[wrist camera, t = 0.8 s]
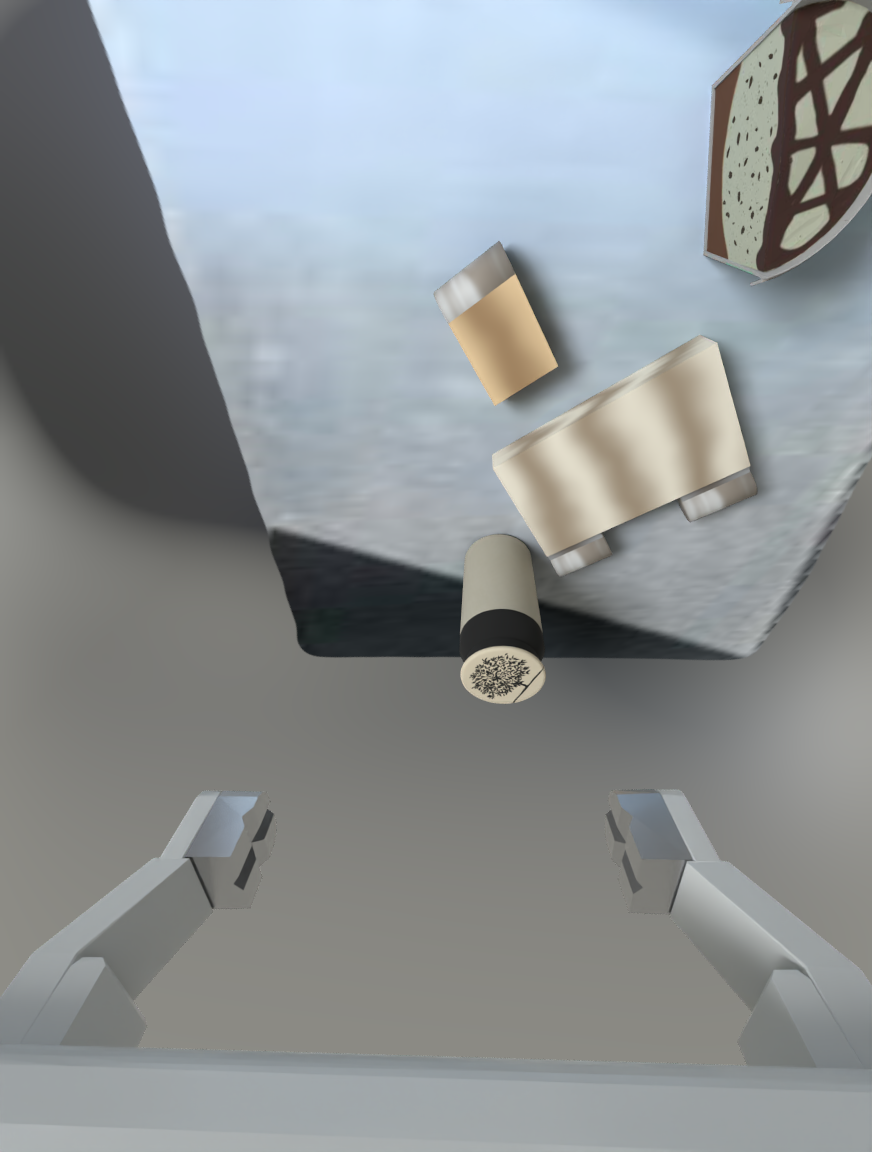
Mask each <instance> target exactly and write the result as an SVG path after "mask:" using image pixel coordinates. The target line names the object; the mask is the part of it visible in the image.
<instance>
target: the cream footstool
mask: <svg viewBox="0 0 872 1152" xmlns="http://www.w3.org/2000/svg"><path fill="white" fill-rule="evenodd" d="M492 459H493V470H494V471H495V473H496V475H497V476H498V478H499V479H500V481H501V483H502V484H503V486H504V488H505V489H506V491H507V492H508V494H509V496H510V497H511V499H512V501H513V502H514V504H515V505H516V507H517V509H518V510H519V512H520V514H521V515H522V517H523V518H524V520H525V522H526V523H527V525H528V527H529V528H530V530H531V531H532V533H533V535H534V536H535V538H536V540H537V541H538V543H539V544H540V546H541V548H542V549H543V551H544V553H545V554H546V556H547V557H549V559H550V561H551V563H552V565H553V567H554V569H555V571H556V572H557V574H558V575H559V576H560V577H562V576H564V575H567V574H569V573H571V572H574V571H576V570H578V569H581V568H583V567H586V566H588V565H590V564H593V563H595V562H597V561H600V560H602V559H605V558H607V557H609V556H612V552H611V549H610V547H609V545H608V543H607V541H606V539H605V536H604V534H603V532H604V531H606V530H608V529H611V528H613V527H615V526H617V525H620V524H622V523H624V522H626V521H628V520H631V519H633V518H635V517H637V516H640V515H642V514H644V513H646V512H649V511H651V510H653V509H655V508H658V507H660V506H662V505H664V504H667V503H669V502H671V501H673V500H676V499H677V501H678V504H679V506H680V508H681V510H682V512H683V513H684V515H685V517H686V518H687V520H688V521H689V522H692V521H695V520H697V519H699V518H702V517H704V516H706V515H709V514H711V513H714V512H716V511H718V510H721V509H723V508H725V507H728V506H730V505H733V504H735V503H737V502H740V501H742V500H744V499H747V498H749V497H752V496H754V495H756V494H757V486H756V483H755V480H754V478H753V476H752V474H751V472H750V469H749V466H750V462H749V458H748V455H747V451H746V447H745V444H744V440H743V436H742V433H741V429H740V425H739V421H738V418H737V414H736V410H735V407H734V403H733V399H732V396H731V392H730V388H729V385H728V381H727V377H726V374H725V370H724V366H723V363H722V359H721V355H720V352H719V348H718V344H717V342H714V341H712V340H710V339H708V338H705V337H703V336H701V335H699V336H697V337H695V338H694V339H692V340H690V341H688V342H687V343H685V344H683V345H681V346H680V347H678V348H676V349H675V350H673V351H671V352H669V353H668V354H666V355H664V356H662V357H661V358H659V359H657V360H655V361H654V362H652V363H650V364H649V365H647V366H645V367H643V368H642V369H640V370H638V371H636V372H635V373H633V374H631V375H629V376H628V377H626V378H624V379H622V380H621V381H619V382H617V383H616V384H614V385H612V386H610V387H609V388H607V389H605V390H603V391H602V392H600V393H598V394H596V395H595V396H593V397H591V398H590V399H588V400H586V401H584V402H583V403H581V404H579V405H577V406H576V407H574V408H572V409H570V410H569V411H567V412H565V413H563V414H562V415H560V416H558V417H557V418H555V419H553V420H551V421H550V422H548V423H546V424H544V425H543V426H541V427H539V428H537V429H536V430H534V431H532V432H531V433H529V434H527V435H525V436H524V437H522V438H520V439H518V440H517V441H515V442H513V443H511V444H510V445H508V446H506V447H504V448H503V449H501V450H499V451H498V452H496V453H494V454H492Z"/></svg>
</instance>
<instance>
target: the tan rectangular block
mask: <svg viewBox="0 0 872 1152" xmlns="http://www.w3.org/2000/svg"><path fill="white" fill-rule="evenodd" d="M434 296H435V299H436V301H437V304H438V306H439V308H440V310H441V312H442V314H443V315H444V317H445V319H446V321H447V322H448V324H449V326H450V327H451V329H452V331H453V333H454V335H455V336H456V338H457V340H458V342H459V343H460V345H461V347H462V349H463V350H464V352H465V354H466V356H467V358H468V359H469V361H470V363H471V365H472V366H473V368H474V370H475V372H476V373H477V375H478V377H479V379H480V381H481V382H482V384H483V386H484V388H485V389H486V391H487V393H488V395H489V397H490V398H491V400H492V402H493V404H494V405H495V406H496V405H497V404H499V403H500V402H502V401H504V400H505V399H507V398H508V397H510V396H512V395H513V394H515V393H516V392H518V391H520V390H521V389H523V388H524V387H526V386H528V385H529V384H531V383H532V382H534V381H536V380H537V379H539V378H540V377H542V376H544V375H545V374H547V373H548V372H550V371H552V370H553V369H555V368H556V367H558V364H557V362H556V360H555V358H554V356H553V354H552V352H551V349H550V347H549V345H548V343H547V341H546V339H545V336H544V334H543V332H542V330H541V328H540V326H539V324H538V321H537V319H536V317H535V315H534V313H533V311H532V308H531V306H530V304H529V302H528V300H527V298H526V296H525V293H524V291H523V289H522V287H521V285H520V283H519V280H518V278H517V276H516V274H515V272H514V270H513V267H512V265H511V263H510V261H509V259H508V257H507V255H506V253H505V251H504V249H503V247H502V245H501V243H500V241H498V242H497V243H496V244H494V245H493V246H492V247H491V248H489V249H488V250H487V251H486V252H484V253H483V254H482V255H481V256H479V257H478V258H477V259H475V260H474V261H473V262H472V263H470V264H469V265H468V266H467V267H465V268H464V269H463V270H461V271H460V272H459V273H458V274H456V275H455V276H454V277H453V278H451V279H450V280H449V281H448V282H446V283H445V284H444V285H442V286H441V287H440V288H439V289H437V290H436V291H435V292H434Z"/></svg>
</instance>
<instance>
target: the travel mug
mask: <svg viewBox="0 0 872 1152" xmlns="http://www.w3.org/2000/svg"><path fill="white" fill-rule="evenodd" d="M459 650H460V656H461V658H462V660H463V662H464V664H463V666H462V669H461V680H462V683H463V685H464V686H465V688H466V689H467V690H468V691H469V692H470V693H471V694H472V695H474V696H476V697H477V698H479V699H482V700H484V701H488V702H492V703H502V704H506V703H515V702H519V701H522V700H525V699H528V698H530V697H532V696H533V695H535V694H536V693H537V692H538V691H539V690H540V689H541V687H542V686H543V684H544V682H545V678H546V672H545V669H544V666H543V664H542V663H541V660H542V659H543V656H544V652H545V646H544V639H543V633H542V626H541V619H540V612H539V606H538V599H537V592H536V585H535V579H534V572H533V565H532V559H531V554H530V551H529V549H528V548H527V547H526V545H525V544H524V543H523V542H521V541H520V540H518V539H517V538H514V537H512V536H508V535H502V534H496V535H489V536H486V537H483V538H481V539H479V540H478V541H476V542H475V543H474V544H472V546H471V547H470V548H469V549H468V551H467V553H466V556H465V564H464V581H463V598H462V614H461V631H460V649H459Z"/></svg>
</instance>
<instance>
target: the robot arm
mask: <svg viewBox="0 0 872 1152" xmlns="http://www.w3.org/2000/svg"><path fill="white" fill-rule="evenodd" d="M608 802H609V805H610V808H611V810H610V811H609V812H608V813H607V814H606V816H605V837H606V842H607V846H608V850H609V853H610V856H611V859H612V860H613V861H614V862H615V863H616V864H617V865H618V866H619V867H620V873H619V878H618V881H619V884H620V887H621V890H622V893H623V896H624V899H625V902H626V905H627V908H628V911H629V913H644V914H668V915H670V918H671V919H672V920H673V921H674V922H675V924H676V925H677V926H678V927H679V928H680V929H681V930H682V932H683V933H684V934H685V935H686V936H687V937H688V939H689V940H690V941H691V942H692V943H693V944H694V946H695V947H696V948H697V949H698V950H699V951H700V952H701V954H702V955H703V956H704V957H705V958H706V959H707V960H708V962H709V963H710V964H711V965H712V966H713V967H714V969H715V970H716V971H717V972H718V973H719V974H720V976H721V977H722V978H723V979H724V980H725V981H726V983H727V984H728V985H729V986H730V987H731V988H732V990H733V991H734V992H735V993H736V994H737V995H738V997H739V998H740V999H741V1000H742V1001H743V1002H744V1003H745V1005H746V1006H747V1007H748V1008H749V1009H750V1010H751V1012H752V1013H751V1015H750V1017H749V1019H748V1021H747V1022H746V1024H745V1026H744V1028H743V1030H742V1032H741V1035H740V1037H739V1039H738V1041H737V1043H738V1045H739V1047H740V1050H741V1052H742V1055H743V1057H744V1059H745V1062H746V1064H747V1065H715V1064H714V1065H713V1064H679V1063H646V1062H614V1061H580V1060H546V1059H512V1058H478V1057H443V1056H412V1055H375V1054H344V1053H343V1054H341V1053H310V1052H276V1051H274V1052H273V1051H241V1050H207V1049H173V1048H172V1049H171V1048H138V1045H139V1043H140V1041H141V1039H142V1036H143V1034H144V1032H145V1030H146V1028H147V1025H146V1019H145V1017H144V1016H143V1014H142V1013H141V1011H140V1010H139V1009H138V1007H137V1006H136V1004H135V1003H134V1000H135V999H136V997H137V996H138V995H139V994H140V993H141V992H142V991H143V989H144V988H145V987H146V986H147V985H148V984H149V983H150V982H151V981H152V979H153V978H154V977H155V976H156V975H157V974H158V973H159V972H160V971H161V969H162V968H163V967H164V966H165V965H166V964H167V963H168V962H169V960H170V959H171V958H172V957H173V956H174V955H175V954H176V953H177V952H178V950H179V949H180V948H181V947H182V946H183V945H184V944H185V943H186V941H187V940H188V939H189V938H190V937H191V936H192V935H193V934H194V933H195V932H196V930H197V929H198V928H199V927H200V926H201V925H202V924H203V922H204V921H205V920H206V919H207V918H208V917H209V916H210V915H211V914H212V913H213V910H212V909H242V908H243V909H244V908H251V905H252V903H253V900H254V897H255V895H256V892H257V890H258V886H259V884H260V882H261V879H262V874H261V871H260V866H261V865H262V864H263V863H264V862H265V861H266V860H267V859H268V858H269V857H270V855H271V852H272V849H273V847H274V843H275V837H276V831H277V829H276V819H275V815H274V814H273V813H272V812H271V811H270V810H268V809H267V808H268V806H269V803H270V799H269V796H268V793H267V792H251V791H203V792H202V793H200V794H199V795H198V796H197V797H196V799H195V800H194V802H193V804H192V806H191V807H190V809H189V810H188V812H187V814H186V815H185V817H184V819H183V821H182V822H181V824H180V825H179V827H178V829H177V830H176V832H175V834H174V835H173V837H172V839H171V840H170V842H169V843H168V845H167V847H166V848H165V850H164V852H163V854H162V855H161V857H160V858H153V859H152V860H150V861H149V862H148V863H147V864H145V865H144V866H143V867H141V868H140V869H139V870H138V871H136V872H135V873H134V874H133V875H131V876H130V877H129V878H128V879H126V880H125V881H124V882H122V883H121V884H120V885H119V886H117V887H116V888H115V889H114V890H112V891H111V892H110V893H108V894H107V895H106V896H105V897H103V898H102V899H101V900H100V901H98V902H97V903H96V904H94V905H93V906H92V907H91V908H89V909H88V910H87V911H85V912H84V913H83V914H82V915H81V916H79V917H78V918H77V919H75V920H74V921H73V922H72V923H70V924H69V925H68V926H66V927H65V928H64V929H63V930H61V931H60V932H59V933H58V934H56V935H55V936H54V937H52V938H51V939H50V940H49V941H47V942H46V943H45V944H44V945H42V946H41V947H40V948H38V949H37V950H36V951H35V952H33V953H32V954H31V956H30V957H29V959H28V960H27V962H26V963H25V964H24V966H23V967H22V968H21V970H20V971H19V973H18V974H17V975H16V977H15V978H14V979H13V981H12V982H11V984H10V985H9V986H8V988H7V989H6V990H5V992H4V993H3V994H2V996H1V997H0V1152H872V986H871V984H870V982H869V981H868V980H867V978H866V977H865V975H864V974H863V972H862V971H861V969H860V968H858V967H857V966H856V965H855V964H853V963H852V962H851V961H850V960H849V959H847V958H846V957H845V956H844V955H842V954H841V953H840V952H839V951H837V950H836V949H835V948H834V947H832V946H831V945H830V944H829V943H828V942H826V941H825V940H824V939H823V938H822V937H820V936H819V935H818V934H817V933H815V932H814V931H813V930H812V929H810V928H809V927H808V926H807V925H806V924H804V923H803V922H802V921H801V920H799V919H798V918H797V917H796V916H794V915H793V914H792V913H791V912H790V911H788V910H787V909H786V908H785V907H783V906H782V905H781V904H780V903H778V902H777V901H776V900H775V899H774V898H772V897H771V896H770V895H769V894H767V893H766V892H765V891H764V890H763V889H761V888H760V887H759V886H758V885H756V884H755V883H754V882H753V881H752V880H750V879H749V878H748V877H747V876H745V875H744V874H743V873H742V872H740V871H739V870H738V869H737V868H736V867H734V866H733V865H732V864H730V863H729V862H728V861H721V860H720V859H719V857H718V855H717V853H716V851H715V850H714V848H713V846H712V844H711V842H710V841H709V839H708V837H707V835H706V833H705V832H704V830H703V828H702V826H701V824H700V822H699V821H698V819H697V817H696V815H695V813H694V812H693V810H692V808H691V806H690V804H689V802H688V801H687V799H686V797H685V795H684V794H683V793H682V792H681V791H680V790H654V789H642V790H612V791H611V792H610V793H609V798H608Z"/></svg>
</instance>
